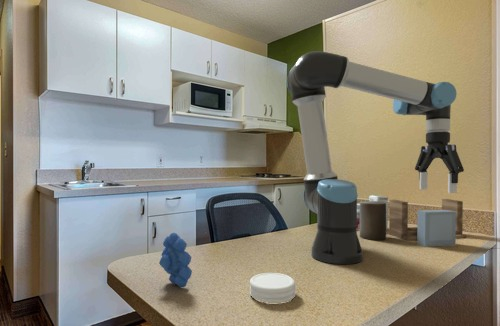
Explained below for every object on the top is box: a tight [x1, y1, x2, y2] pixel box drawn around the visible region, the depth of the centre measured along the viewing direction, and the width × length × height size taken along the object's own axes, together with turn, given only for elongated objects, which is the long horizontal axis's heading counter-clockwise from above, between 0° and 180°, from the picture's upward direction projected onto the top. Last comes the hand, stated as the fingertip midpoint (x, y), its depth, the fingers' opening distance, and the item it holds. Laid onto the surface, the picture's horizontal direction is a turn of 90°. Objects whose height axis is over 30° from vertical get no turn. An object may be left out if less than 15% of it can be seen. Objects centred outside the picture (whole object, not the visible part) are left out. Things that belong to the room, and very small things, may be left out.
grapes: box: [158, 232, 193, 288], centre depth 74 cm, size 12×7×12 cm, turn 41°
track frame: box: [386, 198, 467, 241], centre depth 127 cm, size 26×12×14 cm, turn 99°
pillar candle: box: [359, 200, 387, 241], centre depth 123 cm, size 10×10×15 cm
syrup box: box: [368, 194, 389, 231], centre depth 138 cm, size 6×6×14 cm
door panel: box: [416, 209, 457, 248], centre depth 113 cm, size 12×4×12 cm, turn 99°
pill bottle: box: [357, 203, 360, 232], centre depth 137 cm, size 6×6×11 cm
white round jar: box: [249, 272, 296, 303], centre depth 69 cm, size 10×10×4 cm
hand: (436, 191), depth 113 cm, fingers open, 13 cm apart
